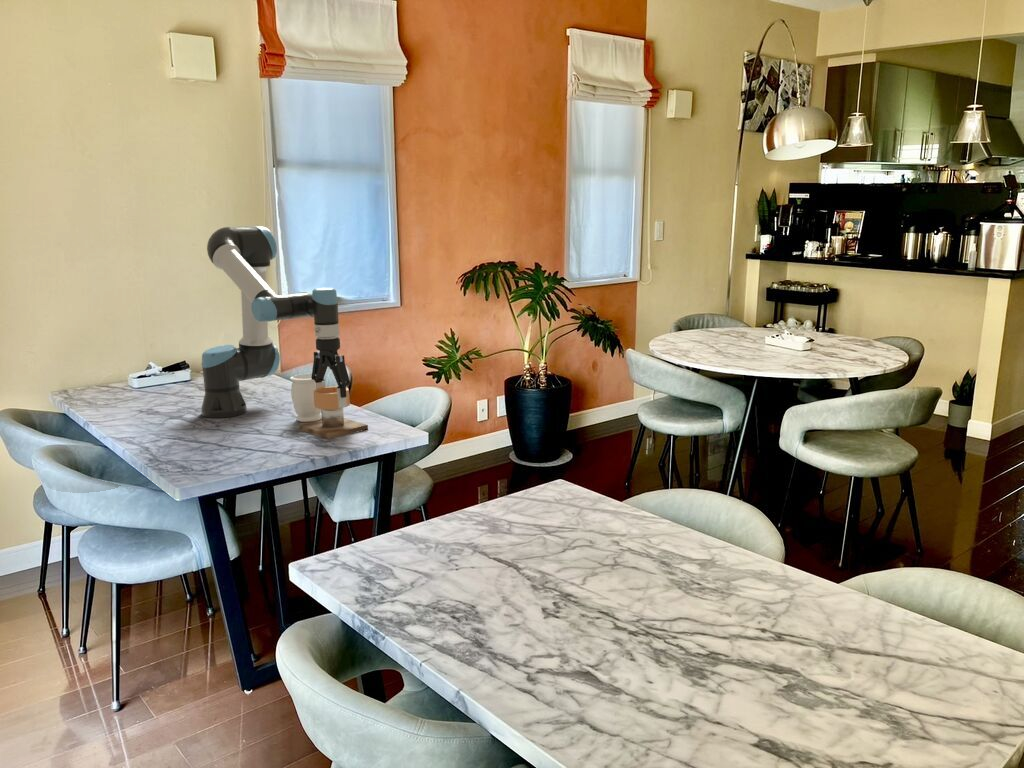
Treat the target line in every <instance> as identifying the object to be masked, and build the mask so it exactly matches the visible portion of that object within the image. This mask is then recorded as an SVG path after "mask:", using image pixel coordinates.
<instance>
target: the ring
mask: <svg viewBox="0 0 1024 768" xmlns="http://www.w3.org/2000/svg"><path fill="white" fill-rule="evenodd" d="M337 387H338V385H337V386H325V387H323V388H318V389H316V390H313V393H314V406H315V408H318V409H339V408H338V396H337ZM346 402H347V407H349V406H350V405H351V404H350V403H351V402H350V390H349V387H346Z"/></svg>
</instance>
